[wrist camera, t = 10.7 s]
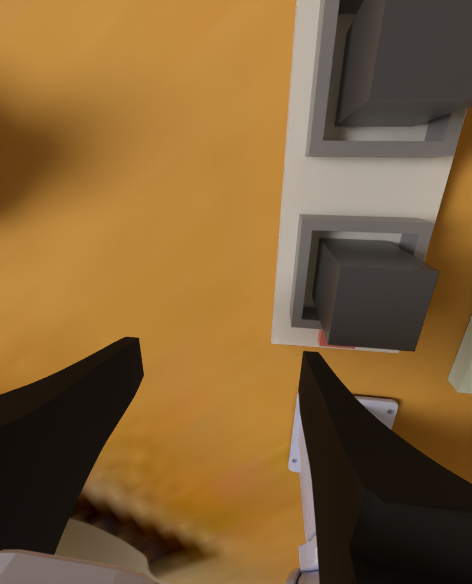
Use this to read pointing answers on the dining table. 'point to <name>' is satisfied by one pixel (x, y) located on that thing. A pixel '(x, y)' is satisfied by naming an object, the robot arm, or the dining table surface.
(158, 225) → the dining table surface
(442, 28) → the dark grey upright box
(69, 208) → the dining table surface
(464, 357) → the pale green tray
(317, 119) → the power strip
